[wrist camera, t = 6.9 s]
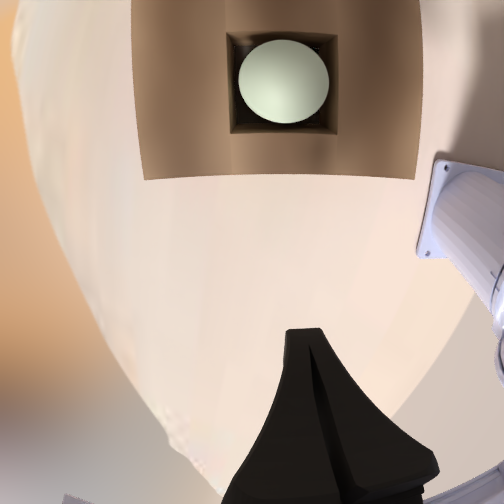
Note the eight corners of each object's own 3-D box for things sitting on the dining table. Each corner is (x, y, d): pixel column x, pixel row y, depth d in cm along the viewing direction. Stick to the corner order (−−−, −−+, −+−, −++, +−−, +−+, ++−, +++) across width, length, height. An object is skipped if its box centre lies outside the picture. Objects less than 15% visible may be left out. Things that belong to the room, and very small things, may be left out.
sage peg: (312, 53, 14) (328, 42, 10) (312, 116, 16) (328, 124, 12) (242, 52, 14) (237, 40, 10) (244, 116, 16) (240, 123, 12)
